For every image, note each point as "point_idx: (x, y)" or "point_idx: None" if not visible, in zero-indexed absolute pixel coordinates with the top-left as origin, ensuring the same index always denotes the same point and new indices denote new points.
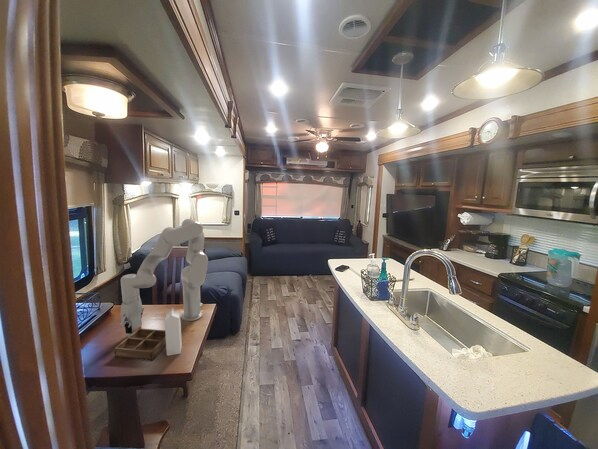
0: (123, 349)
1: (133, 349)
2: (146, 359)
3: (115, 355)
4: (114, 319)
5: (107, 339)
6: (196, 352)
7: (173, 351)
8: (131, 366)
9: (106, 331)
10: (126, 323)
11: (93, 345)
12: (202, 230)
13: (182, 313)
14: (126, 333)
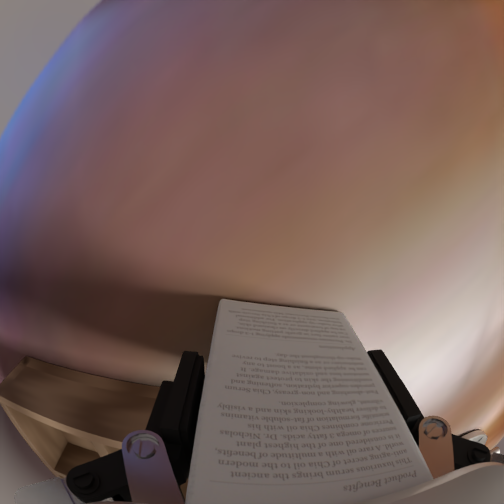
0: (23, 437)
1: (54, 470)
2: None
3: (21, 366)
4: (463, 2)
5: (147, 120)
6: None
7: None
8: None
9: (294, 4)
10: (164, 482)
11: (60, 83)
12: None
13: (469, 439)
14: (215, 325)
